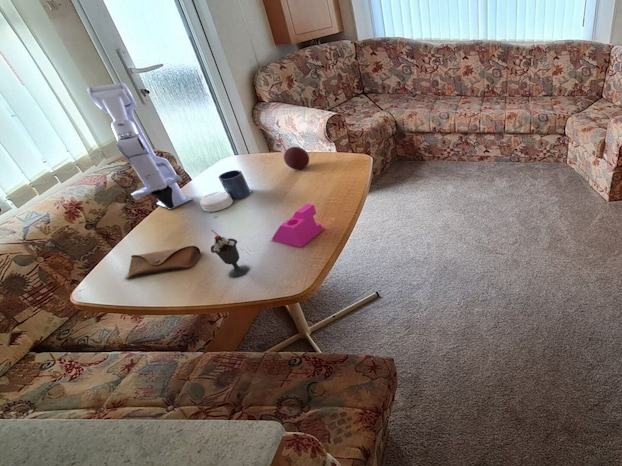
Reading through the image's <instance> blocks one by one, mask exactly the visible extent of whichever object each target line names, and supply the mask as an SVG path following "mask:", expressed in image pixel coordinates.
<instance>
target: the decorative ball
mask: <svg viewBox="0 0 622 466" xmlns="http://www.w3.org/2000/svg"><path fill="white" fill-rule="evenodd" d="M283 160H284V161H283V162H285V164H286V165H287V166H288V167H289V168H291V169H293V170H303V169H306V167H307V166H308V165H309V162H310V155H309V153H308V152H307V151H306V150H305V149H304V148H303V147H299V146H291V147H289V148H287V149H285V151H284V154H283Z"/></svg>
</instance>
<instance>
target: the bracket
mask: <svg viewBox="0 0 622 466" xmlns="http://www.w3.org/2000/svg"><path fill="white" fill-rule="evenodd" d="M315 215H317V210H316V207H315V204H312V203H306V204H305V205H303V206H302V207H300V208H299V209H297V210H296V211H295V213H294V214H293V215H292V216H291V217H290V218H289V219H287V220H286V221H284V222H283V223H281V225H279V227H278V229H276V231H275V233H274V235H273V236H272V238H271V240H272V241H273V242H278V243H282V244H285V245H290V246H294V247H299V248H303V247H304V246H305V245H306V244H308V243H309V242H310V241H311V240H313V239H314V238H315V237H316V236H317V235H319V234H320V233H321V232H322V231H324V229H323V226H322V224H321V223H320V222H319V223H318V222H316V220H315V217H314V216H315Z"/></svg>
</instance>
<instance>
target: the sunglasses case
mask: <svg viewBox="0 0 622 466" xmlns="http://www.w3.org/2000/svg"><path fill="white" fill-rule="evenodd" d="M200 257H201V249H200V248H199V247H198V246H196V245H189V246H184V247H179V248H171V249H163V250H159V251H153V252H148V253H147V252H146V253H142V254H132V255H130V262H129V269H128V273H127V275H126V278H125V279H127V280H128V279H132V278H137V277H141V276H142V277H143V276H148V275H154V274H161V273H166V272H167V273H168V272H173V271H178V270H184V269H188V268H189V269H190V268H191V267H194V265H195V264H196V262H197V261H198V260H199V258H200Z"/></svg>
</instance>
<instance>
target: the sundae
mask: <svg viewBox="0 0 622 466" xmlns="http://www.w3.org/2000/svg"><path fill="white" fill-rule="evenodd" d="M211 232H212V233H214V234H215V236H214V242H213V245H211V246H210V252H211V253H212V254H216V255H217V256H218V257H219V259H220V260H221V261H222V262H223V263H224V264H226V265H231V266H232V267H233V269H232V270H231V271H230V272H229V277H231V278H238V277H241V276H243V275H245V274H246V273H247V272H248V271H249V267H248V266H245V265H239V264H238V262H239V260H240V253H239V250H238V247H237V244H238V240H236V239H235V238H227V237H223V236H221V235H220V234H218V233H217V232H216V231H214V230H213V229H211Z"/></svg>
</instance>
